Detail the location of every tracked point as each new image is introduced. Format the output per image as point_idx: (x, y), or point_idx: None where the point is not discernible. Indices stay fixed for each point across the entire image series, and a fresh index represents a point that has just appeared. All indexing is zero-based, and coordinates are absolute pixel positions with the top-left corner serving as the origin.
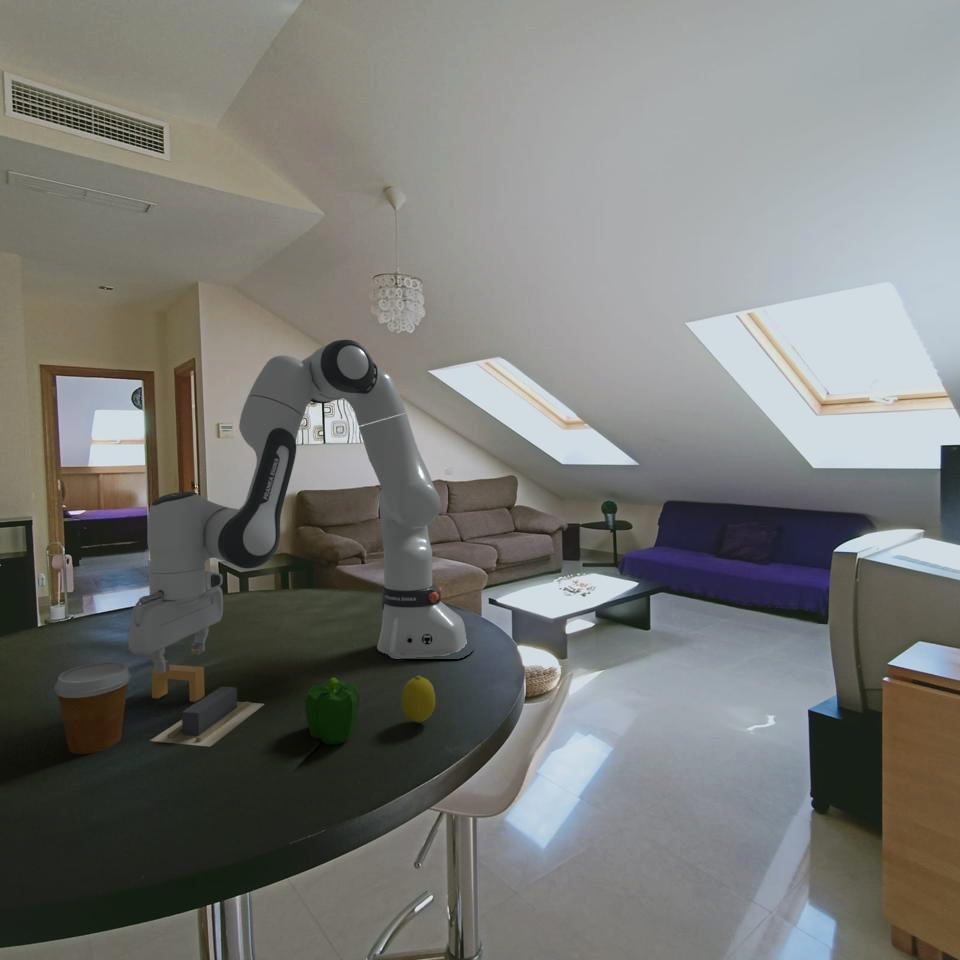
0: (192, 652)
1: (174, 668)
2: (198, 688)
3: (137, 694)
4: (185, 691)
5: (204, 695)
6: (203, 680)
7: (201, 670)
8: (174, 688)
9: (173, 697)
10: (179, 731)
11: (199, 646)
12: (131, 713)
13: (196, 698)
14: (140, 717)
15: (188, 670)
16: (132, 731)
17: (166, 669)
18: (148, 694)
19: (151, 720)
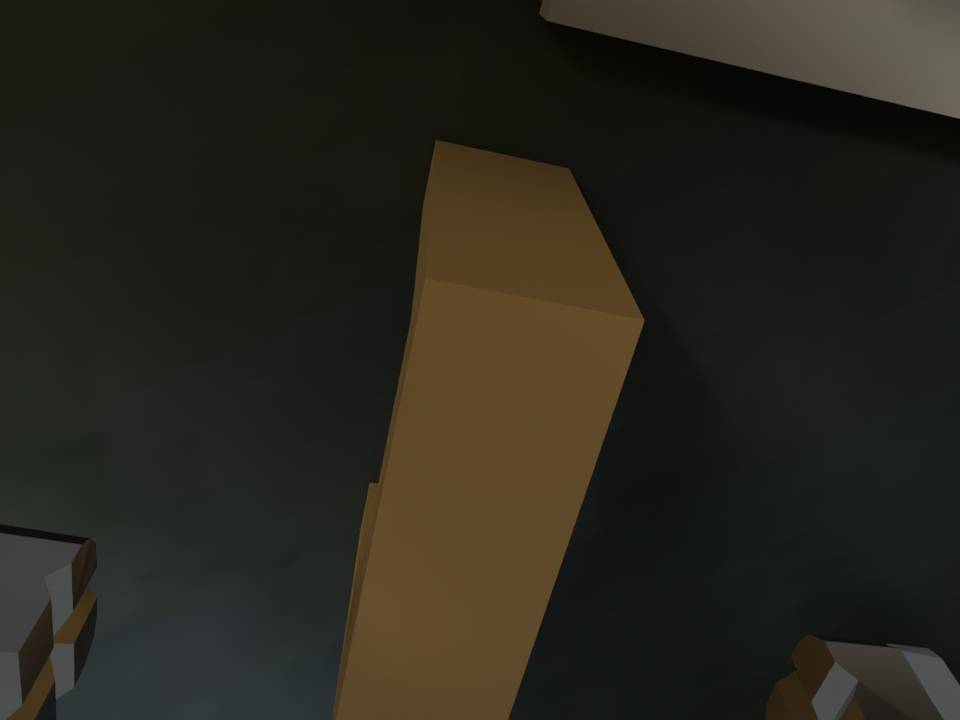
0: (87, 644)
1: (474, 625)
2: (547, 213)
3: (286, 700)
4: (190, 422)
5: (435, 158)
6: (445, 214)
7: (491, 278)
8: (141, 529)
9: (325, 458)
10: None
11: (32, 631)
12: (616, 594)
13: (572, 191)
14: (697, 513)
15: (561, 439)
16: (936, 457)
17: (896, 660)
18: (280, 641)
19: (768, 419)
